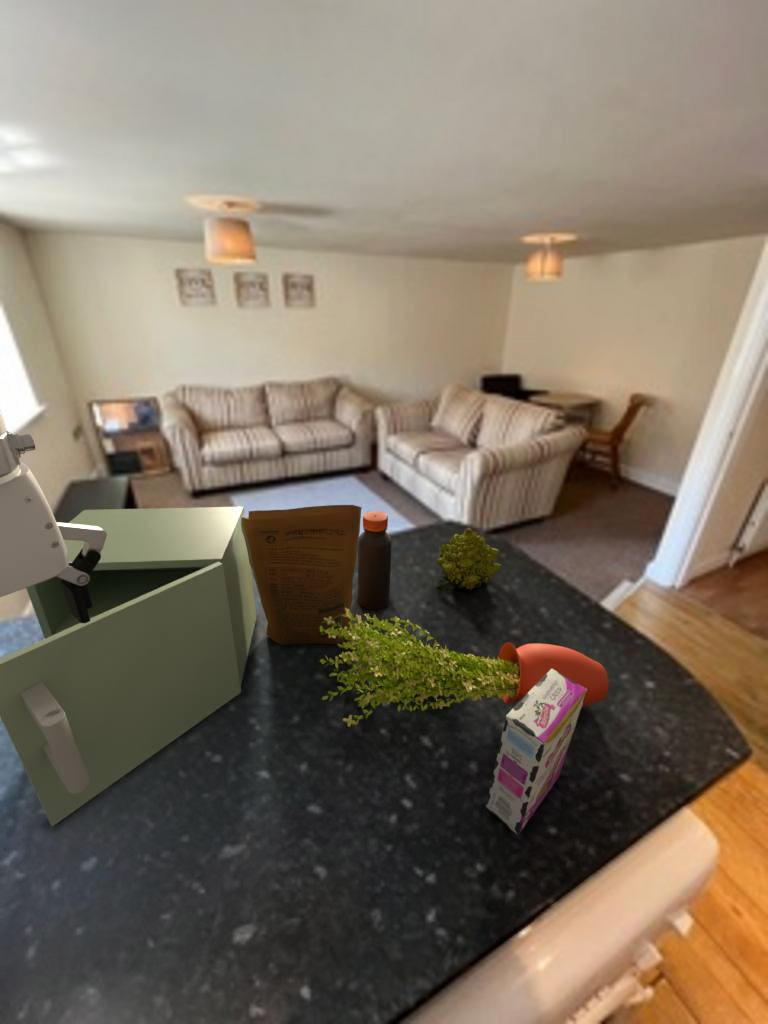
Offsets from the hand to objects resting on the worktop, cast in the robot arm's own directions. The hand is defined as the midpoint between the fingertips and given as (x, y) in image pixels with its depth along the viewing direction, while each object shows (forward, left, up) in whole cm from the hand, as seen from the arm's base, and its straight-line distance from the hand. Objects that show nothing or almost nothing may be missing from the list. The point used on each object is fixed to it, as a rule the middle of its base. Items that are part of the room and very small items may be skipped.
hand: (21, 642), depth 40 cm
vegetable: (+58, +49, -29) cm, 82 cm away
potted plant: (+48, +17, -29) cm, 59 cm away
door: (+6, +9, -29) cm, 30 cm away
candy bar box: (+52, 0, -29) cm, 60 cm away
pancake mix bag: (+23, +32, -29) cm, 49 cm away
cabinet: (-1, +30, -29) cm, 42 cm away
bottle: (+36, +43, -29) cm, 63 cm away
